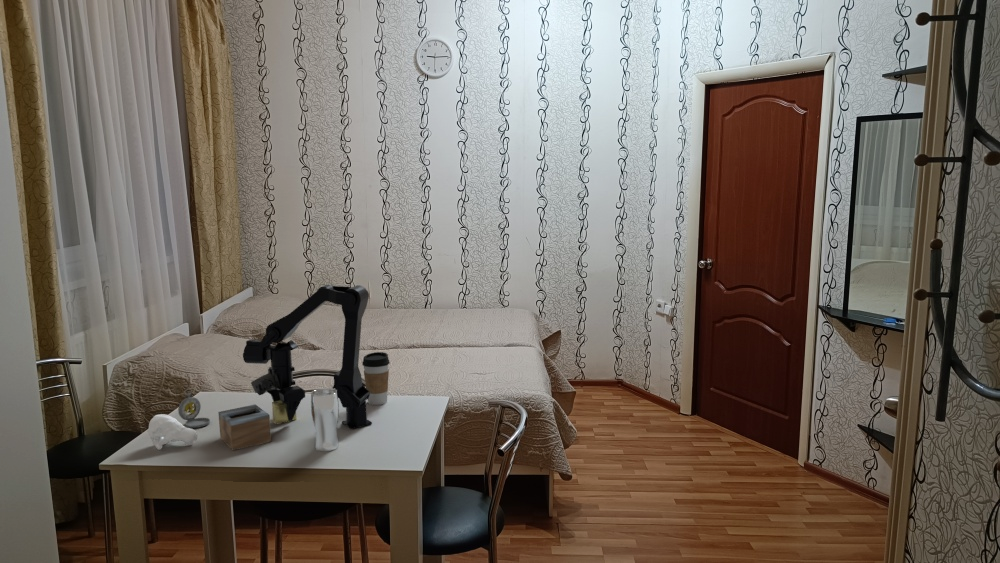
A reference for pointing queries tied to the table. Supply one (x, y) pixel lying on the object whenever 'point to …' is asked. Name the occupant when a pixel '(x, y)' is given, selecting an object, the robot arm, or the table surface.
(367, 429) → the table surface
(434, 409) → the table surface
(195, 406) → the pocket watch
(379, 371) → the coffee cup
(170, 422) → the white animal skull
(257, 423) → the box
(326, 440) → the beer glass
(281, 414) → the block
